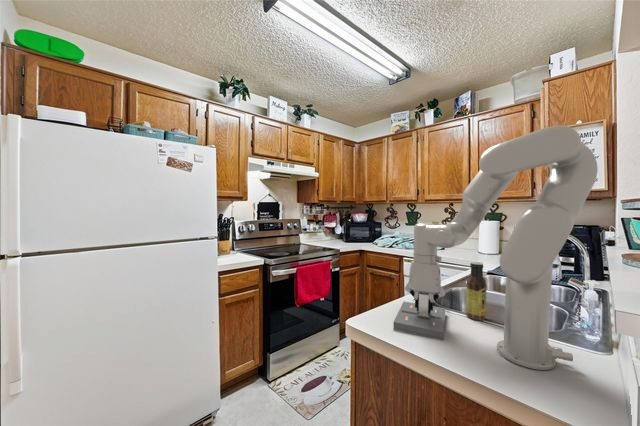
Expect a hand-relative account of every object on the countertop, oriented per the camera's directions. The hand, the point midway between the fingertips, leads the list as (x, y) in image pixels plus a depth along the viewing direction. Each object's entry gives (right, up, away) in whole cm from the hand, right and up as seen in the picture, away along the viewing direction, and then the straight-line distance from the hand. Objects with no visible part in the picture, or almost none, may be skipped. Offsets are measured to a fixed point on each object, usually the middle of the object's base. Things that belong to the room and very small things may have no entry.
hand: (423, 310), depth 91 cm
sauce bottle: (+21, -4, +4) cm, 22 cm away
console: (-1, -4, +1) cm, 4 cm away
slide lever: (0, -1, 0) cm, 1 cm away
